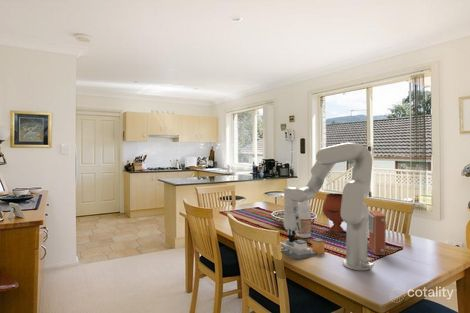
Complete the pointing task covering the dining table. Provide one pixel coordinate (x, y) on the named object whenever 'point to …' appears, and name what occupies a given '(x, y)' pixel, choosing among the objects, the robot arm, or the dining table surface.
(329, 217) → the goblet
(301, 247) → the breaker handle
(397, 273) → the dining table surface
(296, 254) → the breaker panel
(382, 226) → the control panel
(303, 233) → the fruit juice
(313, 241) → the orange short cylinder
